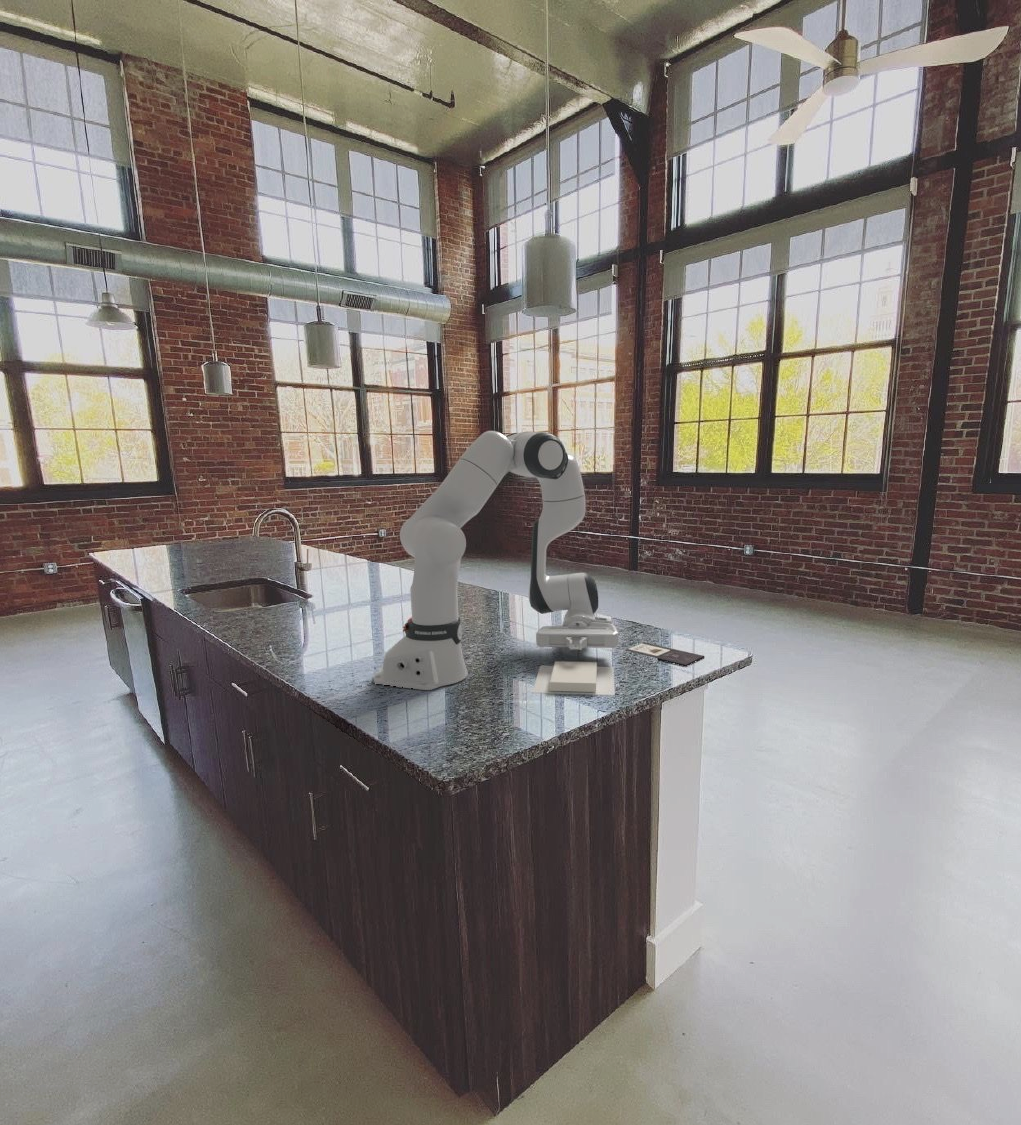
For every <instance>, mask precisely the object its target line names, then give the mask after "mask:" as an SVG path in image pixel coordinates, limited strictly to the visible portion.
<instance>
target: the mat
mask: <svg viewBox="0 0 1021 1125" xmlns="http://www.w3.org/2000/svg"><path fill="white" fill-rule="evenodd" d="M553 668H554V665H539V669H538V673H537V675H536V678H535V681H534V685H533V688H532V691H531V693H532V694H555V695H557V694H558V695H559V694H561V695H588V696H589V695H591V696H592V695H596V696H597V695H598V696H599V695H600V696H616V695H615V694H616V691H615V689H616V688H615V671H614V670H615V669H614V668H615V667H614V666H597V681H596V692H559V691H550V680H551V676H552V672H553Z"/></svg>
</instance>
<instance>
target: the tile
mask: <svg viewBox="0 0 1021 1125" xmlns="http://www.w3.org/2000/svg"><path fill="white" fill-rule="evenodd" d="M553 666H554V668H553V672H552V676H551V680H550V691H559V692H596V681H597V667H598V662H597V661H554V665H553Z"/></svg>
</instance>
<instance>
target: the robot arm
mask: <svg viewBox="0 0 1021 1125" xmlns="http://www.w3.org/2000/svg"><path fill="white" fill-rule="evenodd" d="M580 470H581V469H580V466H579V465H578V461H577V459H576V458H575V457H574V456H573V455H570V454H568V453H567V451H566V447H565V446H564V444H563V442H562V441H561V440H560V438H559V437H557V435H556V436H555V435H553V434H552V433H549V432H545V431H542V432H535V431H522V432H513V433H510V434H507V435H504V434H503V433H501V432H499V431H496V430H487V431H485V432H483V433H482V434H480V435H479V436H478V437H477V438H476V439H475V440H474V441H473V442H472V443H471V444H470V445H469V447H468V448H467V449H466V450H465V451H464V452H463V454H462V455H461V456H460V457H459V459H458V460H457V461H456V463H455V465H453V467H452V468H451V470H450V472H449V473H448V475H447V476H445V478H444V479H443V481H442V483H441V484H440V485H439V486H438V487H437V488H436V489H435V491H434V492H433V493H432V494H430V496H429V497H428V498H426V500H425V501H424V502H423V503H422V504H421V505H420V506H419V507H418V509H417V510H416V511H415V512H414V513H413V514H412V515H411V516H410V517H409V518H408V519H407V520H406V521H405V522H404V523H403V524H402V526H401V528H400V531H399V540H400V542H401V545H402V547H403V550H404V551H405V552H406V553H407V555H409V556H411V557H413V559H414V568H413V569H414V570H413V578H412V583H411V586H410V591H409V593H410V607H411V608H410V609H411V617H410V618H408V620H407V622H405V624H404V626H402V629H403V630H402V632H403V633H405V636H403V637H402V638H401V639H399V640H398V641H397V642H396V643H395V644H394V645H393V646H391V648H389V649H388V650H387V651H386V652H385V655H384V657H383V661H382V667H381V668H380V669H378V670H377V672H376V673H375V674H374V676H373V683H374V682H375V683H376V684H385V685H390V686H389V687H393V686H396V687H395V688H402V687H403V688H402V689H411V688H413V689H414V690H420V691H421V690H423V691H432V690H435V689H437V688H439V687H440V688H441V687H444V686H449V685H453V684H457V683H459V682H461V681H463V680H465V679H466V678H467V677H468V675H469V672H468V670H467V666H466V663H465V660H464V655H463V650H462V644H461V642H462V635H463V634H462V631H463V630H462V624H461V617H460V616H459V601H458V597H459V596H458V586H459V585H458V584H459V583H458V581H459V575H460V569H461V562H462V557H463V556H464V554H465V552H466V548H467V540H466V536H465V533H464V532H463V530H462V529H461V528H463V527H464V526H465V525H466V523H467V522H469V521H470V520H471V519H472V518H474V517H475V516H477V515H478V513H480V511H481V510H482V508H483V507H484V506H485V504H486V503H487V501H488V500H489V499H490V497H491V496H492V494H493V493H494V492H495V490H496V488H497V487H498V485H499V484H500V483H501V481H502V480H503V478H504V476H506V475H507V474H511V475H514V476H521V477H524V478H536V479H537V481H538V482H539V485H540V488H541V491H540V492H541V497H542V498H541V499H542V510H541V513H540V516H539V517H538V518H537V519H536V520H534V522H533V526H532V533H531V550H530V551H531V552H530V554H531V556H530V581H529V582H530V583H529V587H528V593H527V594H528V602H529V604H530V607H531V609H532V610H534V611H536V612H537V613H540V614H542V615H543V614H549V613H554V612H560V611H566V612H565V614H564V617H563V622H562V624H561V625H546V626H542V627H540V628H539V629H538V630H537V631H536V632H535V641H536V642H535V643H536V646H537V647H541V648H544V647H545V648H569V650H571V651H573V650H575V651H577V650H578V651H580V650H581V651H582V650H583V649H585V648H594V649H595V648H596V649H597V648H600V649H601V648H602V649H603V648H606V649H608V648H610V649H611V648H612V649H615V648H617V647H619V631H618V629H617V627H616V626H615V625H614V624H613V620H612V619H611V618H606V617H600V616H596V612H597V611H598V609H599V591H598V586H597V584H596V583H597V582H596V580H595V579H594V578H593V577H592V576H591V575H590V574H589V573H587V572H577V573H576V572H574V573H568V574H561V575H560V574H559V575H558V574H557V575H551V576H550V575H547V574H546V570H547V567H546V564H547V549H548V547H549V545H550V543H552V541H554V540H555V539H558V538H559V537H561V536H564V534H567V533H568V532H570V531H572V530H574V529H575V528H576V527H578V526H579V524H581V523H582V521H583V520H584V519H585V518H584V517H585V514H586V494H585V488H584V482H583V478H582V474H581V471H580ZM376 684H375V685H376Z"/></svg>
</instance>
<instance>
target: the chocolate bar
mask: <svg viewBox="0 0 1021 1125" xmlns="http://www.w3.org/2000/svg"><path fill="white" fill-rule="evenodd" d="M625 651H627V652H630V653H635V654H639V655H644V656H648V657H651V658H656V659H658V660H657V661H660V660H662V661H661V662H664V661H668V662H671V663H670V664H672V663H675V664H674V665H676V664H679V665H678V666H680V665H683V666H682V667H684V666H687V665H689V666H690V664H691V663H693V662H695V661H697V662H699V661H700V659H701V660H703V659H704V658H705V655H703V654H697V653H692V652H688V651H684V650H680V649H675V648H671V647H666V646H662V645H658V644H653V643H649V642H641V643H640V644H637V645H634V646H631V647H630V648H627V649H625ZM703 657H704V658H703ZM702 658H703V659H702ZM698 660H699V661H698ZM668 662H667V663H668ZM695 663H696V662H695ZM693 664H694V663H693ZM691 665H692V664H691ZM687 667H688V666H687Z"/></svg>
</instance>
